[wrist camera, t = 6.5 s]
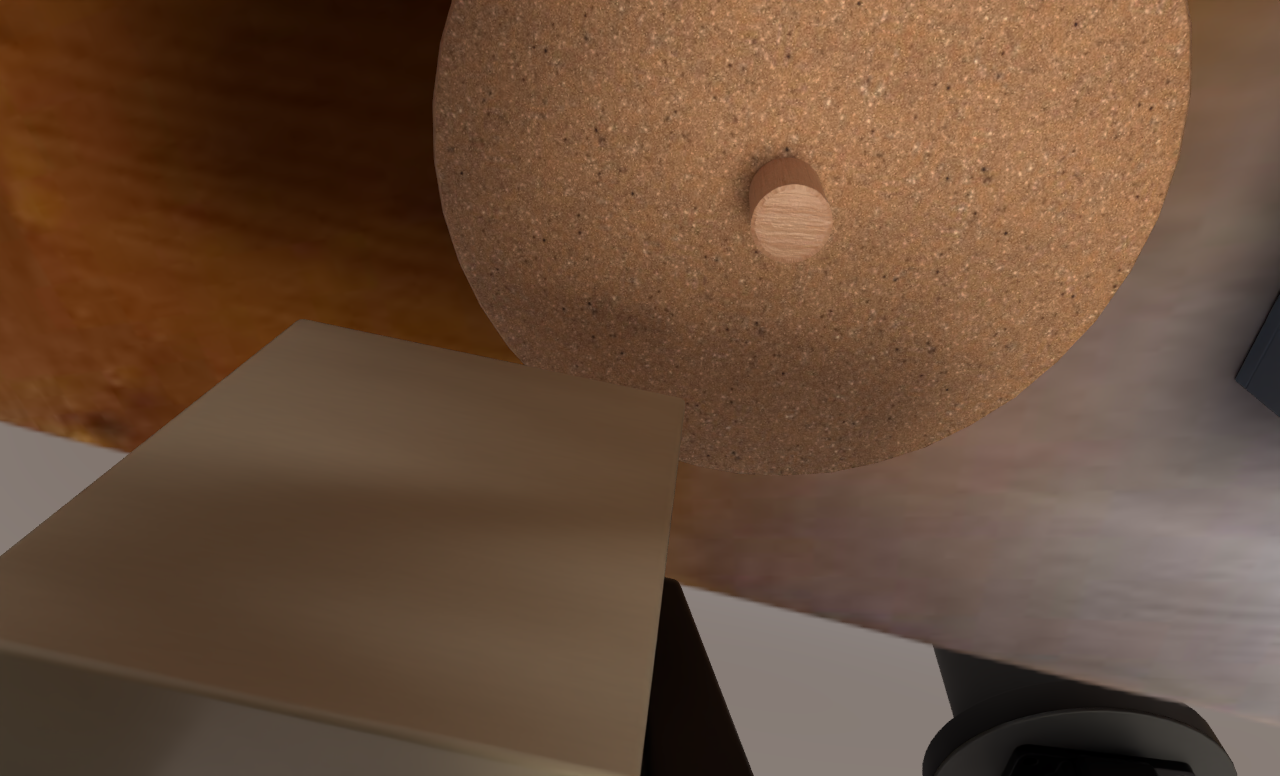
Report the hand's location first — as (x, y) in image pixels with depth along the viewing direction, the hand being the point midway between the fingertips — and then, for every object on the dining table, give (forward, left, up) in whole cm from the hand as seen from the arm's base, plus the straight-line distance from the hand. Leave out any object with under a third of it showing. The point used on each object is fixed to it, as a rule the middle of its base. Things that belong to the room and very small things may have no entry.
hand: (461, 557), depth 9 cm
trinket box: (+4, -4, -12) cm, 13 cm away
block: (0, 0, -1) cm, 1 cm away
